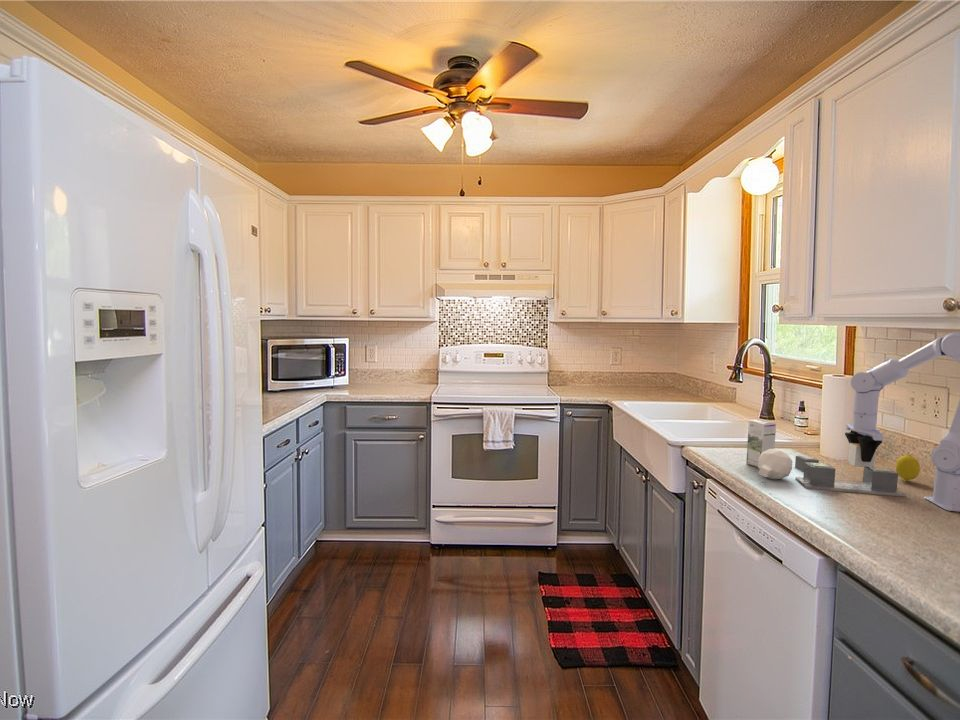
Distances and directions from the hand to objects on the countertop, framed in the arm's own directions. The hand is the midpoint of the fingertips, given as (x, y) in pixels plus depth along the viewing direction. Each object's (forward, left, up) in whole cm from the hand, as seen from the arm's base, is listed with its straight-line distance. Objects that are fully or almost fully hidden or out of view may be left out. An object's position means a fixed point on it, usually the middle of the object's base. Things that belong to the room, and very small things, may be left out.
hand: (861, 459), depth 154 cm
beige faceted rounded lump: (-7, +26, -6) cm, 28 cm away
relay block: (+6, +12, -6) cm, 15 cm away
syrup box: (+7, +25, -6) cm, 27 cm away
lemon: (+2, -13, -6) cm, 15 cm away
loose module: (0, 0, -2) cm, 2 cm away
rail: (-10, +7, -6) cm, 14 cm away
